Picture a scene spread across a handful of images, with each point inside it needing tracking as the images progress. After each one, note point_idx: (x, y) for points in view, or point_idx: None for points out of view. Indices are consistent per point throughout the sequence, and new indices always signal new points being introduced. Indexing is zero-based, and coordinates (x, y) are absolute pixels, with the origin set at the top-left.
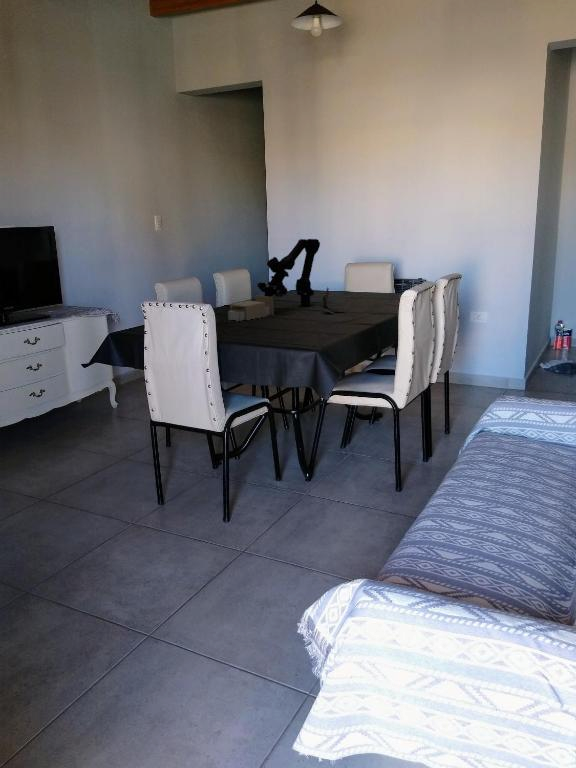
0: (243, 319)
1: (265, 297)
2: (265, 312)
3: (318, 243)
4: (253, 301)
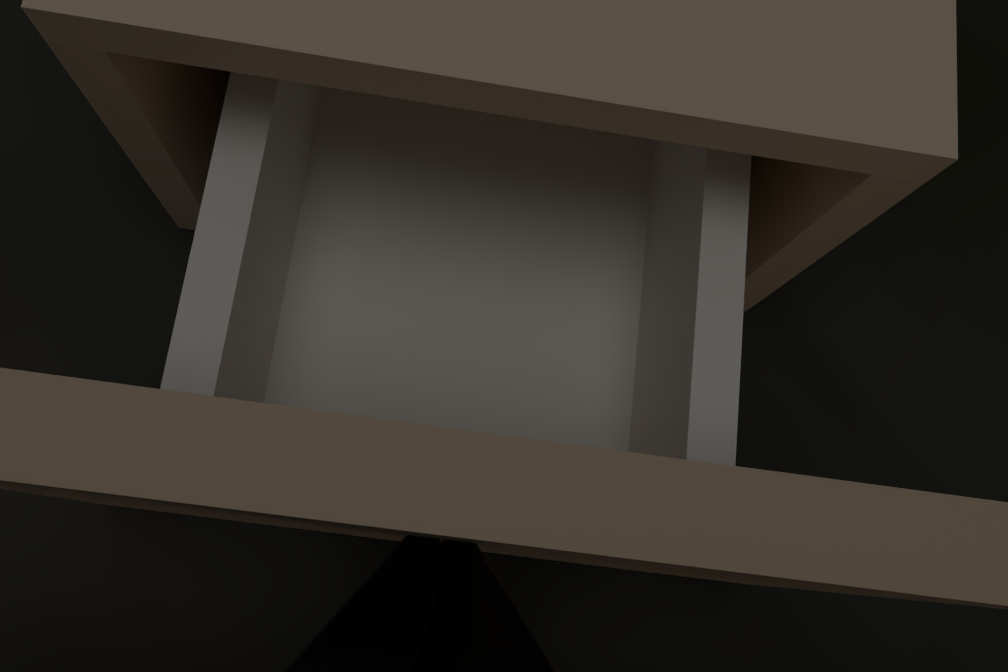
0: None
1: (300, 417)
2: (146, 170)
3: None
4: (635, 34)
